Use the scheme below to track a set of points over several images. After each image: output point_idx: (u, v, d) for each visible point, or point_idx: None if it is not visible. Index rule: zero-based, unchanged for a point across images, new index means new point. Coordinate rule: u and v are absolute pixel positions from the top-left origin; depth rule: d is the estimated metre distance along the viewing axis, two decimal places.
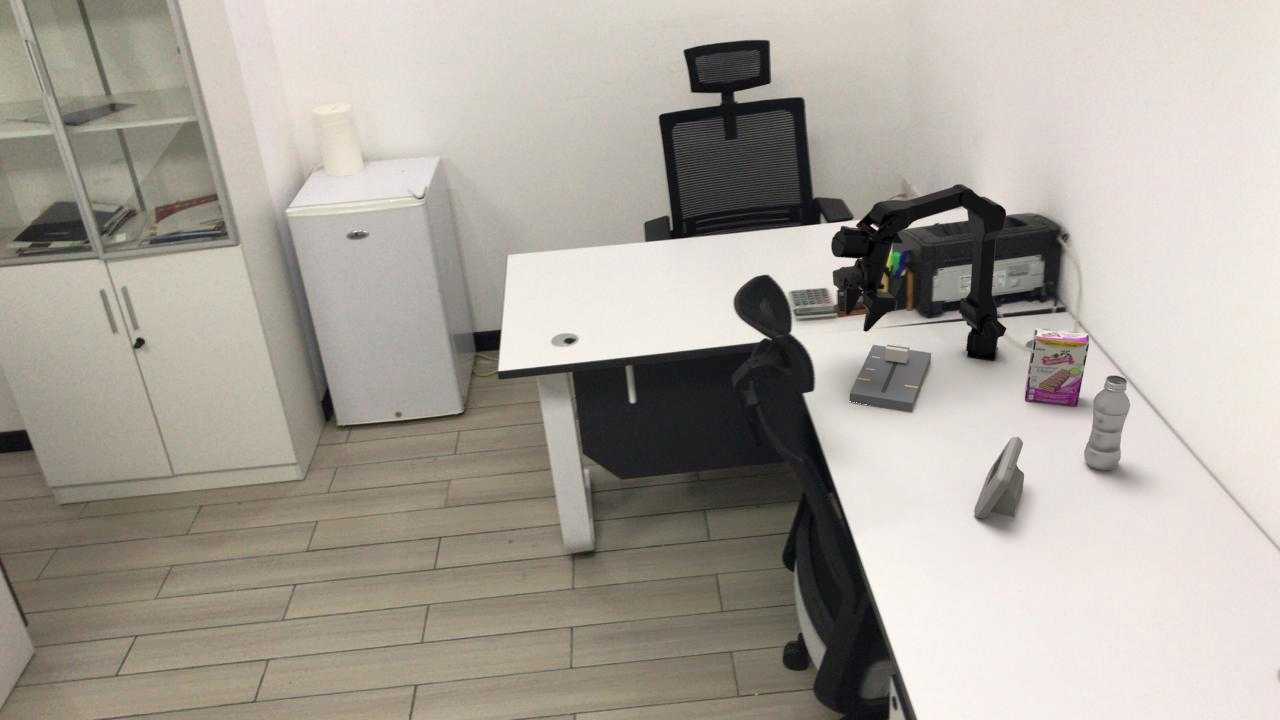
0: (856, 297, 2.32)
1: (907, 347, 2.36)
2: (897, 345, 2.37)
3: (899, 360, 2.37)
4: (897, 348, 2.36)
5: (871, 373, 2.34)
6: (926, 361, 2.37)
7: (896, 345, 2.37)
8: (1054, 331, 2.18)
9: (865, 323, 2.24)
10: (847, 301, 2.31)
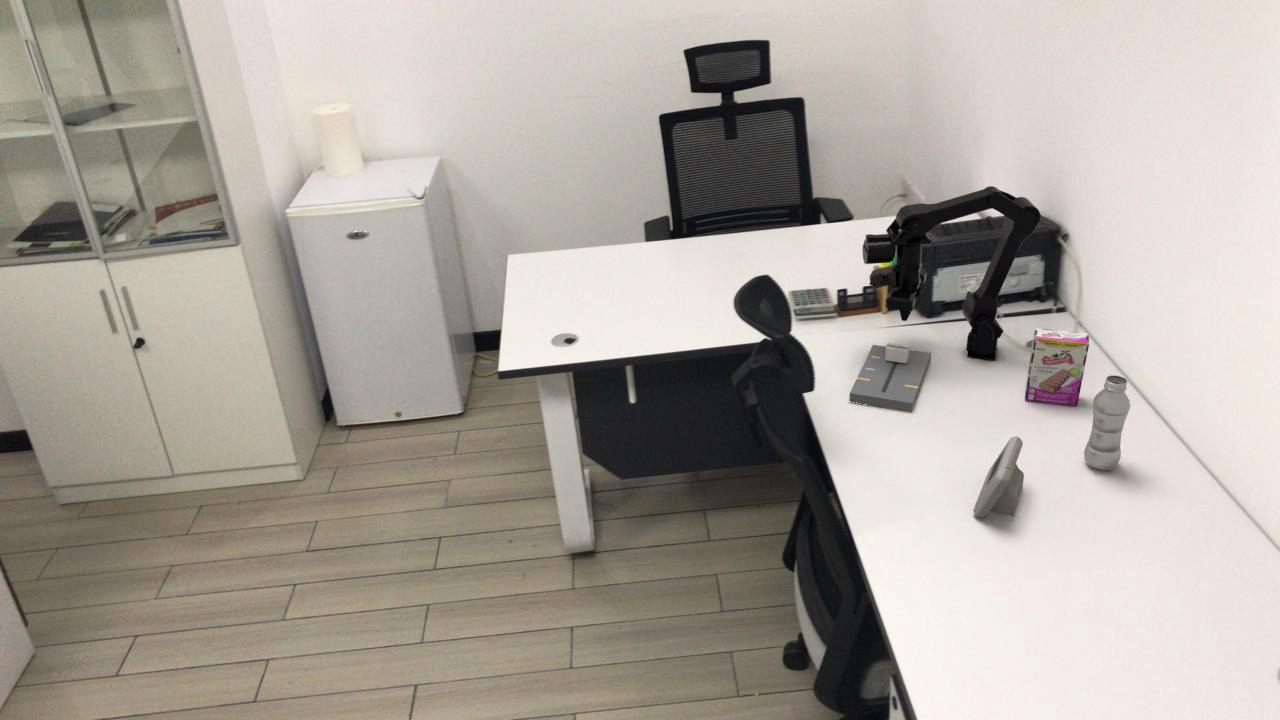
0: None
1: (907, 347, 2.36)
2: (897, 345, 2.37)
3: (899, 360, 2.37)
4: (897, 348, 2.36)
5: (871, 373, 2.34)
6: (926, 361, 2.37)
7: (896, 345, 2.37)
8: (1054, 331, 2.18)
9: None
10: None
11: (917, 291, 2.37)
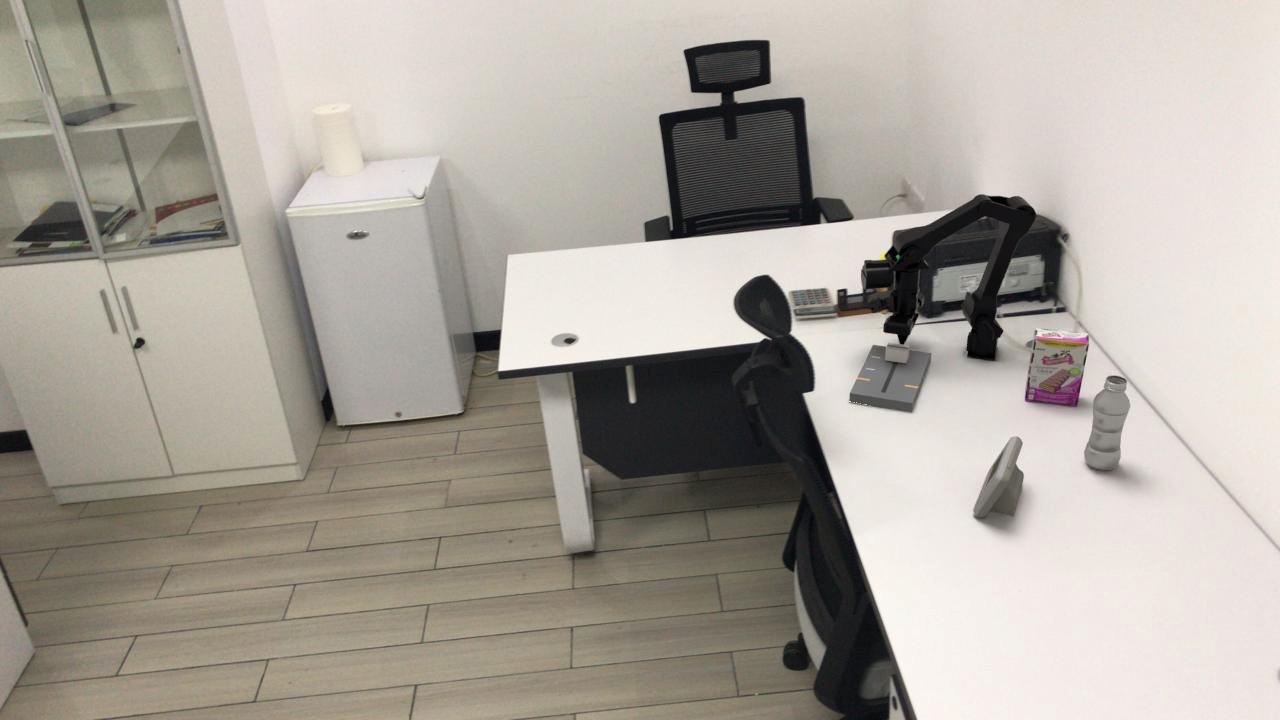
0: None
1: (907, 347, 2.36)
2: (897, 345, 2.37)
3: (899, 360, 2.37)
4: (897, 348, 2.36)
5: (871, 373, 2.34)
6: (926, 361, 2.37)
7: (896, 345, 2.37)
8: (1054, 331, 2.18)
9: (898, 336, 2.41)
10: None
11: (915, 315, 2.40)
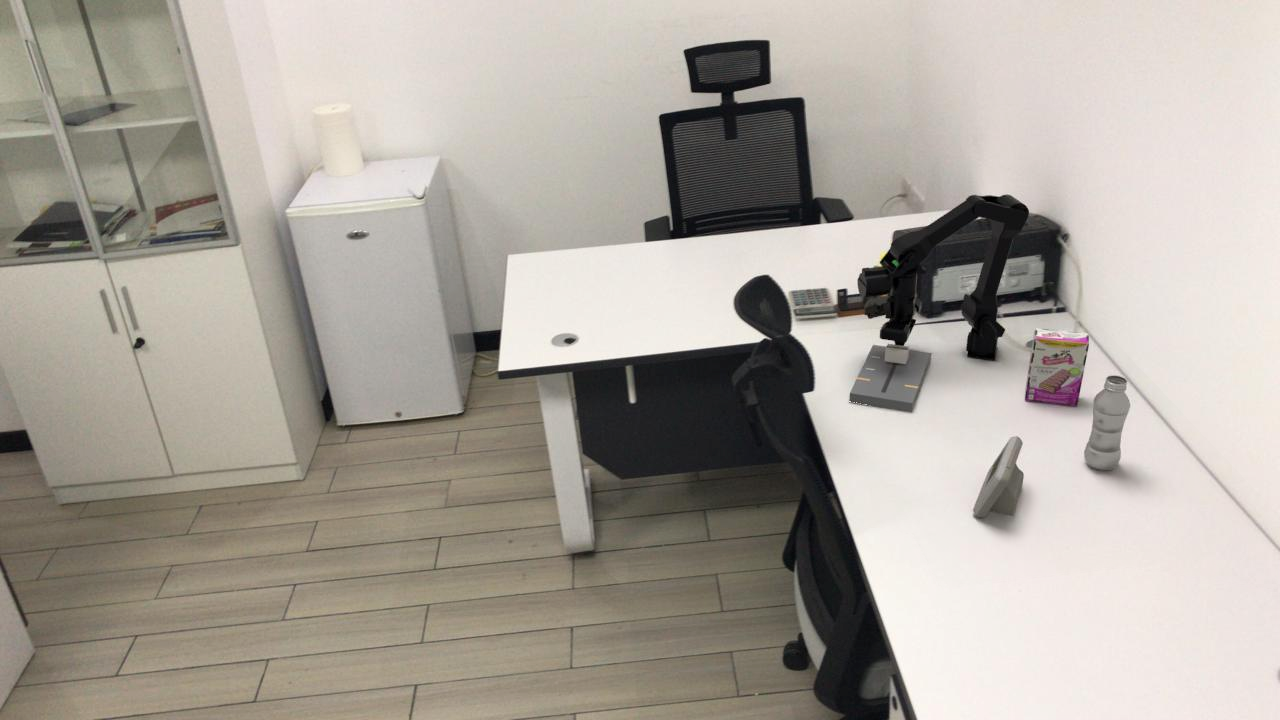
0: None
1: (907, 348, 2.36)
2: (897, 346, 2.37)
3: (899, 361, 2.36)
4: (896, 349, 2.36)
5: (871, 373, 2.34)
6: (926, 361, 2.37)
7: (896, 346, 2.37)
8: (1054, 331, 2.18)
9: (895, 342, 2.38)
10: None
11: (912, 321, 2.37)
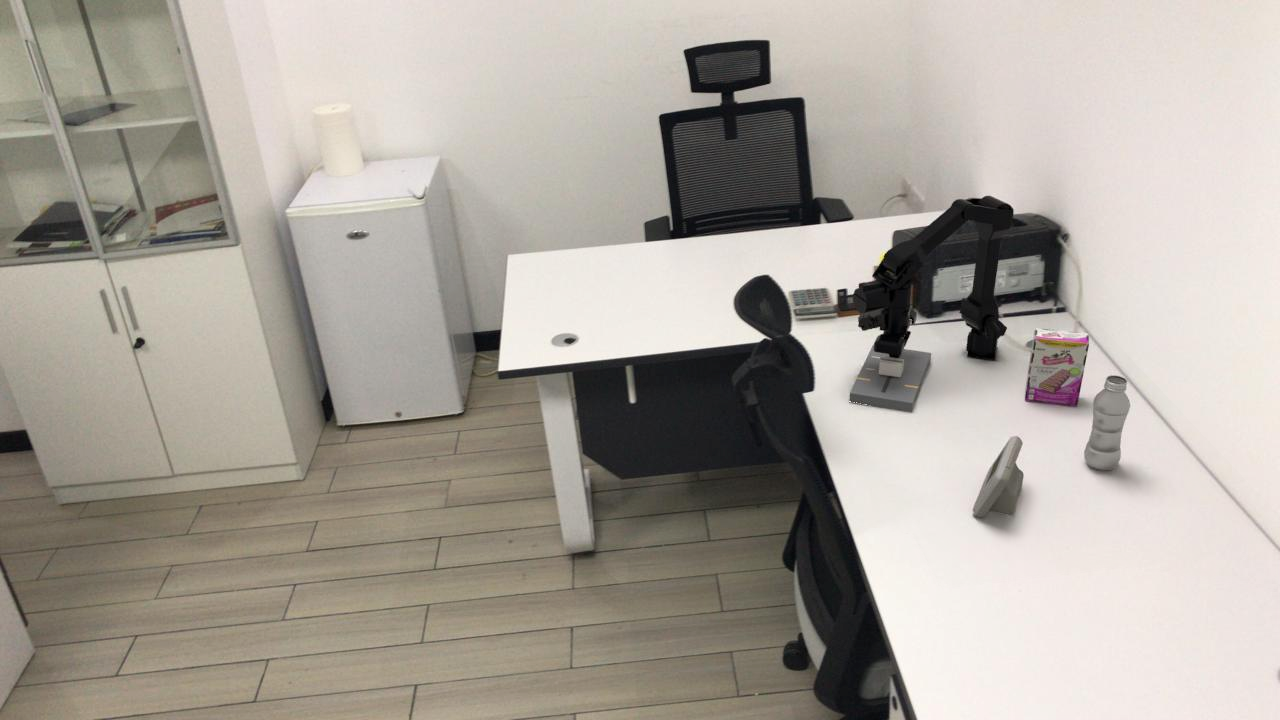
0: None
1: (901, 361, 2.31)
2: (891, 359, 2.32)
3: (893, 374, 2.31)
4: (891, 362, 2.31)
5: (871, 373, 2.34)
6: (926, 361, 2.37)
7: (890, 359, 2.32)
8: (1054, 331, 2.18)
9: None
10: None
11: (907, 333, 2.32)
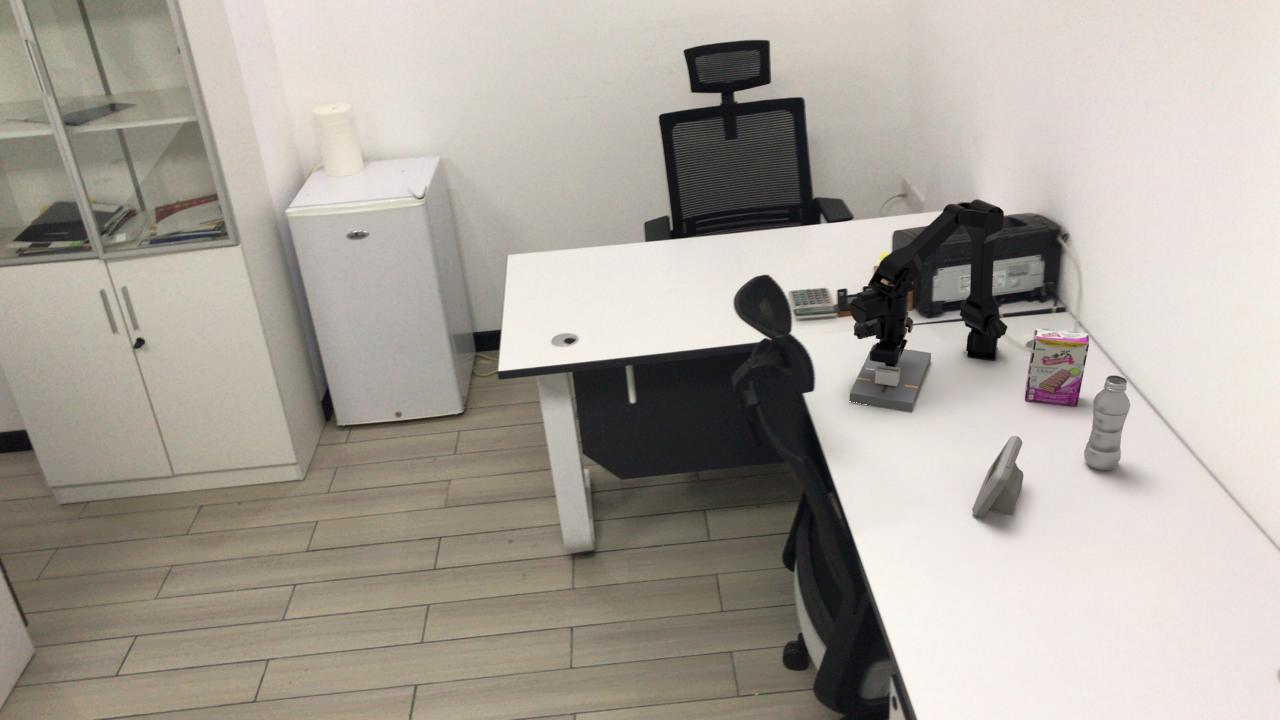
0: None
1: (898, 369, 2.27)
2: (887, 367, 2.29)
3: (889, 383, 2.28)
4: (887, 371, 2.27)
5: (871, 373, 2.34)
6: (926, 361, 2.37)
7: (886, 367, 2.29)
8: (1054, 331, 2.18)
9: None
10: None
11: (903, 342, 2.29)
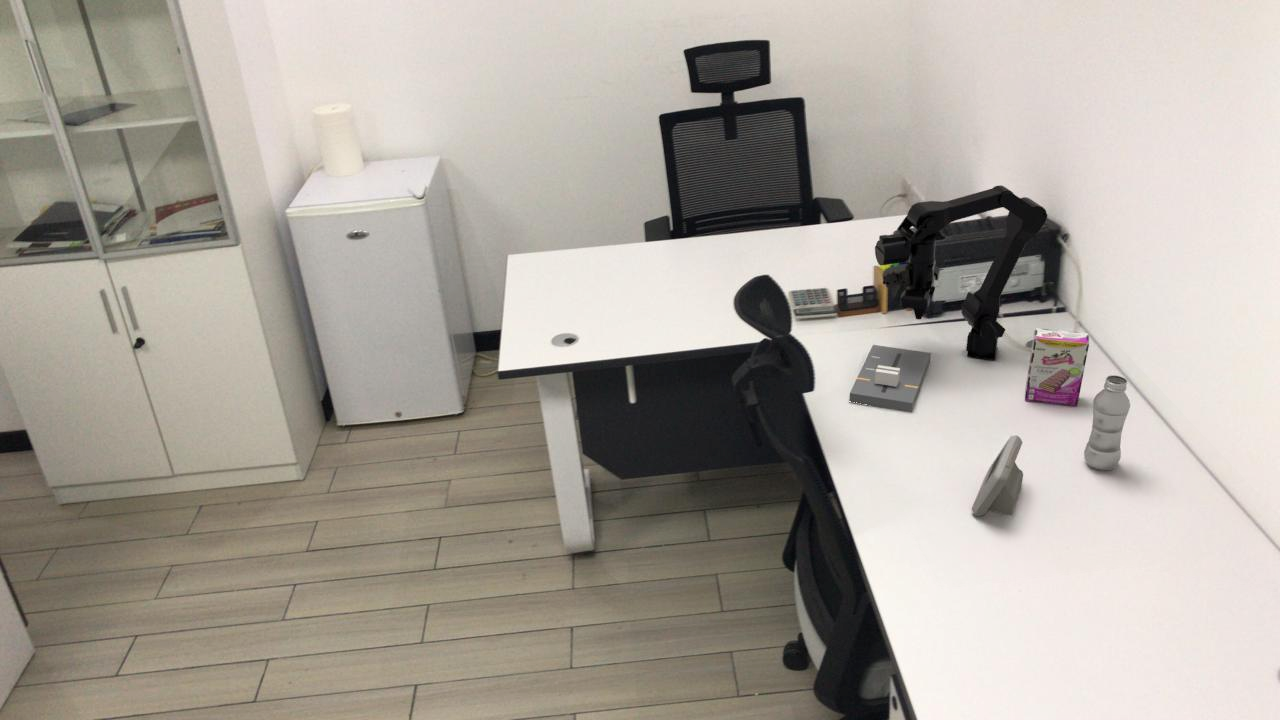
0: None
1: (897, 370, 2.27)
2: (887, 368, 2.28)
3: (889, 383, 2.28)
4: (887, 371, 2.27)
5: (871, 373, 2.34)
6: (926, 361, 2.37)
7: (886, 368, 2.29)
8: (1054, 331, 2.18)
9: None
10: None
11: (931, 289, 2.33)
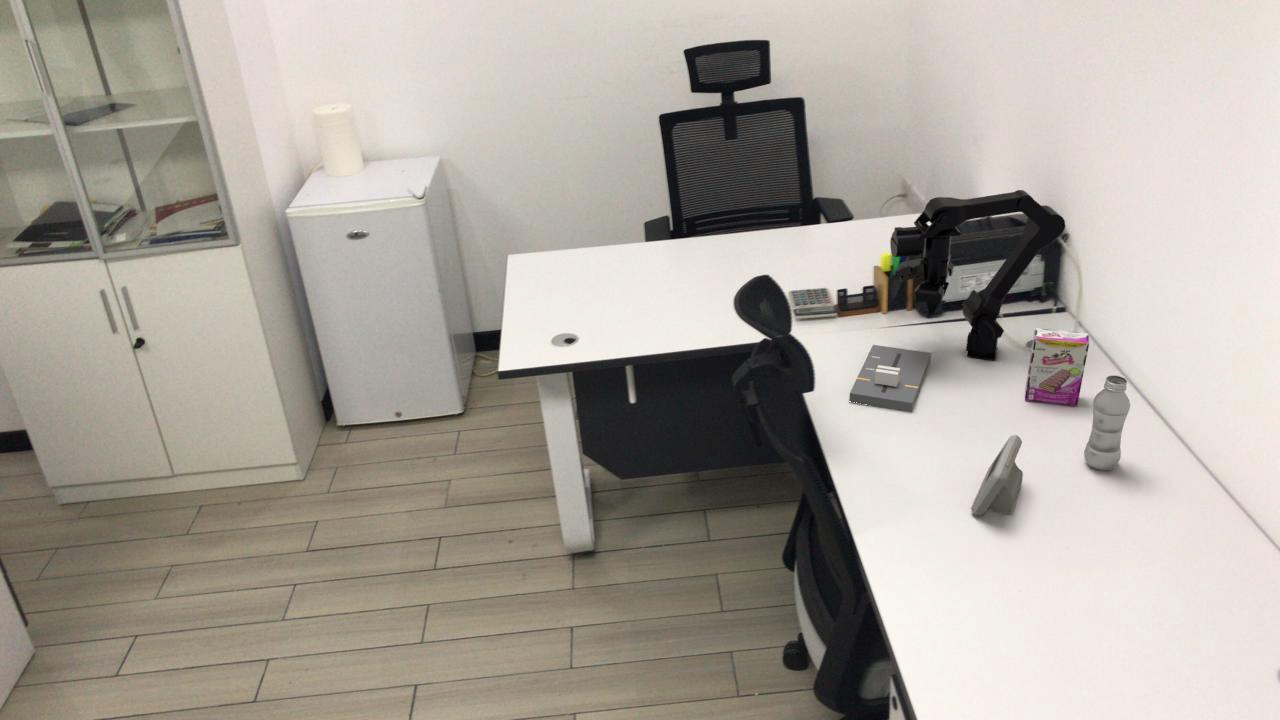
0: None
1: (897, 370, 2.27)
2: (887, 368, 2.28)
3: (889, 383, 2.28)
4: (887, 371, 2.27)
5: (871, 373, 2.34)
6: (926, 361, 2.37)
7: (886, 368, 2.29)
8: (1054, 331, 2.18)
9: None
10: None
11: (945, 284, 2.35)
